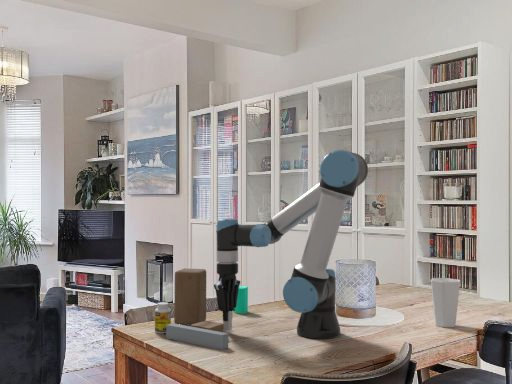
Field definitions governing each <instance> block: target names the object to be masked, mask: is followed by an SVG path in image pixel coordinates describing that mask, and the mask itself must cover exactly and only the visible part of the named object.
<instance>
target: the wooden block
mask: <svg viewBox="0 0 512 384" xmlns="http://www.w3.org/2000/svg"><path fill="white" fill-rule="evenodd" d="M173 303H174V307H173V308H174V310H173V311H174V318H173V319H174V321H173V323H174V324H180V325H185V326H190V325H192V324H196V323H199V322H202V321H207V320H206V319H207V270H206V269H205V268H182V269H180V270H177V271H175V272H174V302H173Z"/></svg>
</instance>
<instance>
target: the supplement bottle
mask: <svg viewBox="0 0 512 384" xmlns="http://www.w3.org/2000/svg"><path fill="white" fill-rule="evenodd" d="M156 306H157V307H156V308H155V310H154V332H155V333H156V334H161V335H164V333H165V334H166V325H168V324H172V323H171V322H172V321H171V319H172V309H171V308H170V306H169V302H164V301H163V302H161V301H160V302H157V305H156Z"/></svg>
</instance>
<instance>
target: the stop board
mask: <svg viewBox="0 0 512 384" xmlns="http://www.w3.org/2000/svg"><path fill="white" fill-rule="evenodd" d="M165 334H166V335H165V336H166V338H165V339H167V338H168V340H172V339H173V341H176V342H177V341H178V342H183V343H187V344H188V343H189V344H193V345H197V346H203V347H208V348H213V349H217V350H225V349H228V348H229V333H228V332H218V331H213V330H207V329H202V328H196V327H190V325H179V324H175V322H173V323H171V324H168V325H166V333H165Z"/></svg>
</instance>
